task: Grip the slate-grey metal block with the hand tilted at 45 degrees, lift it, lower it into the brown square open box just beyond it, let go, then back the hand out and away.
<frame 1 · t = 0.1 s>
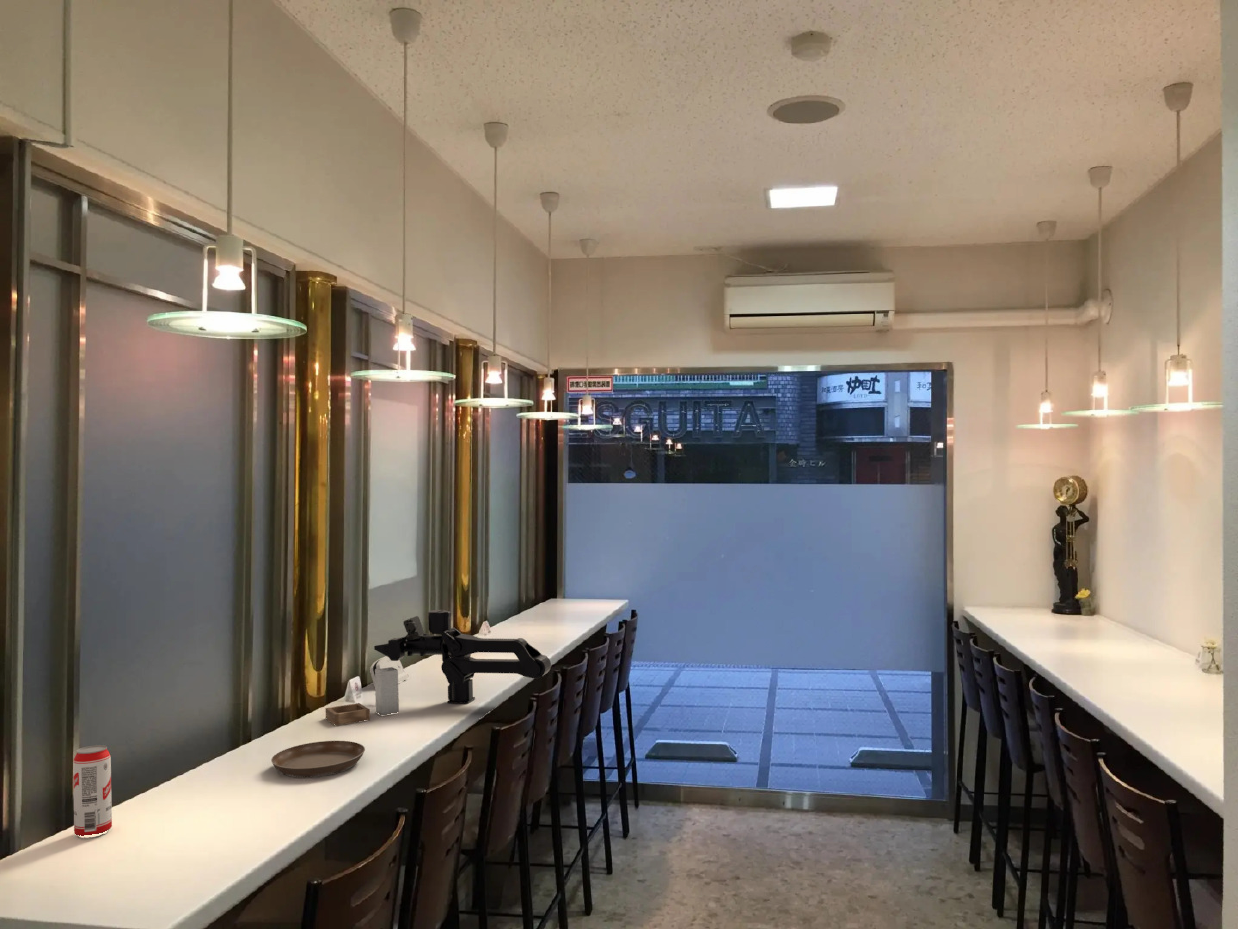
hand: (381, 644, 283), 17 cm above the table, tool horizontal, fingers open, 9 cm apart
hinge: (389, 684, 306), on the table
plant saucer: (319, 768, 216), on the table
beer can: (93, 835, 176), on the table
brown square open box: (347, 719, 259), on the table
grey block: (387, 713, 265), on the table
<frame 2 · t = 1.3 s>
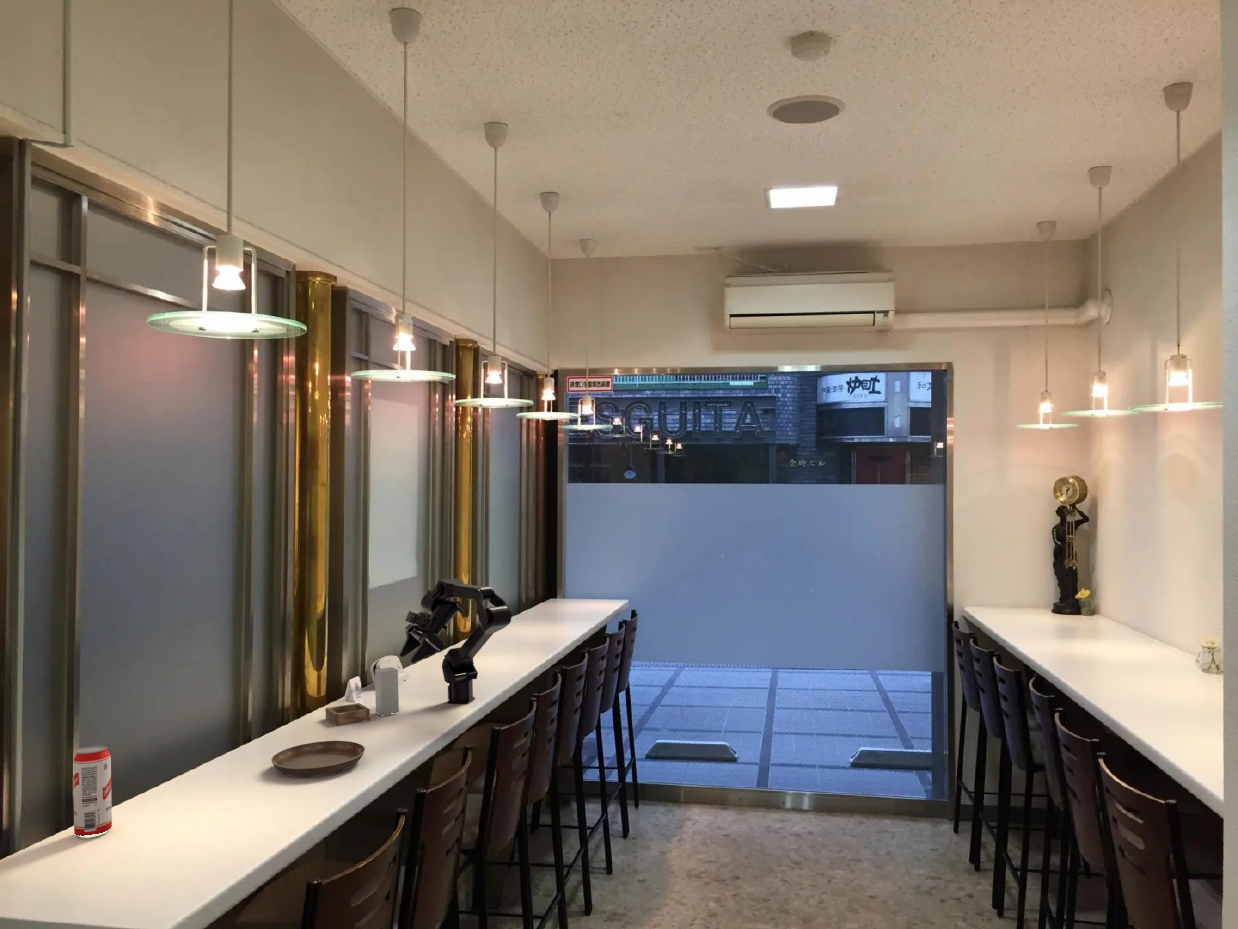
hand: (406, 659, 276), 13 cm above the table, tool tilted 45°, fingers open, 9 cm apart
nothing on the table moved.
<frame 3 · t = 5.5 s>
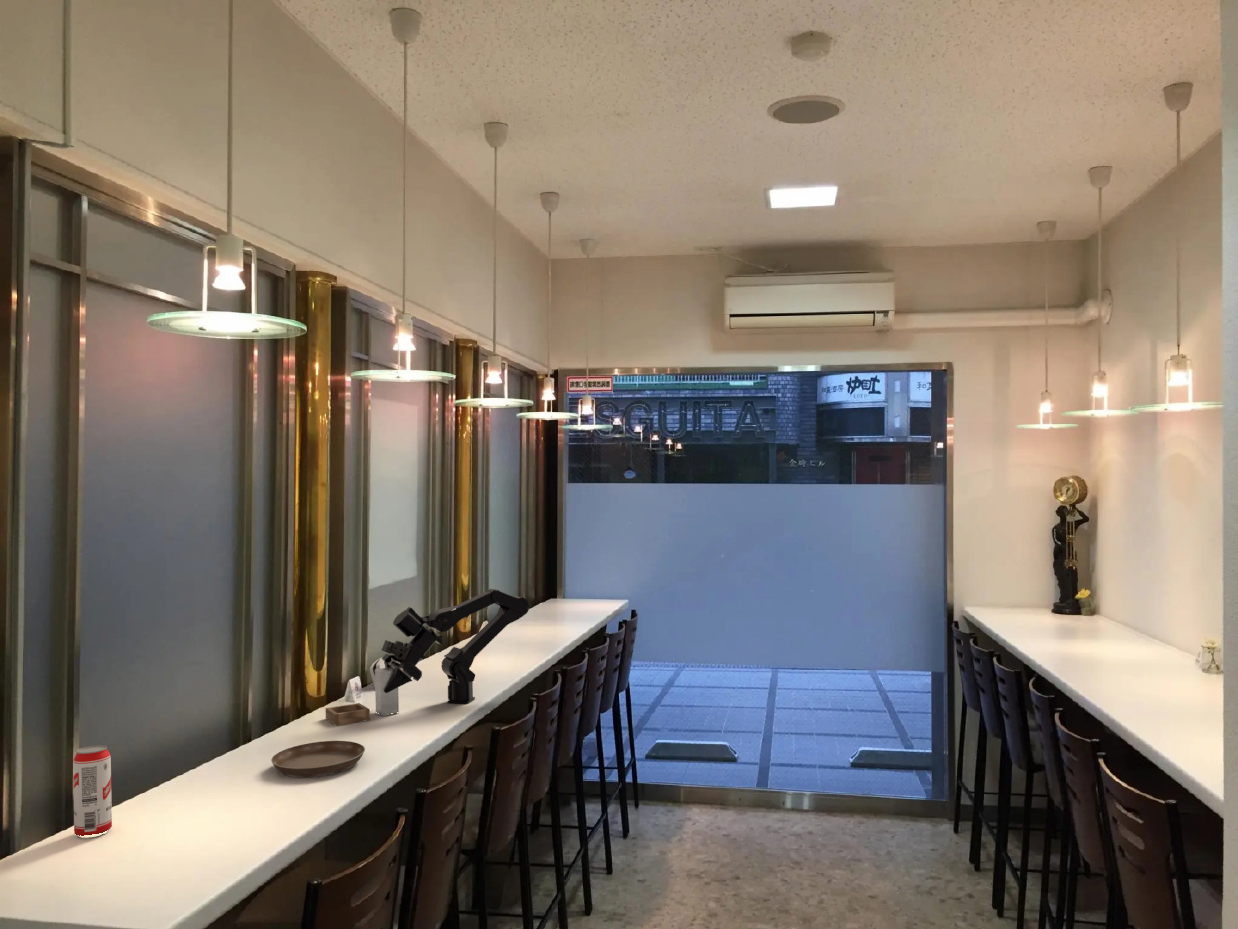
hand: (381, 690, 265), 7 cm above the table, tool tilted 45°, fingers closed on grey block, 5 cm apart
grey block: (387, 713, 265), on the table, touching gripper
everything else where it was.
when the fingers open (8 cm above the table, at t = 10.8 s): grey block drops 1 cm, resting in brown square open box.
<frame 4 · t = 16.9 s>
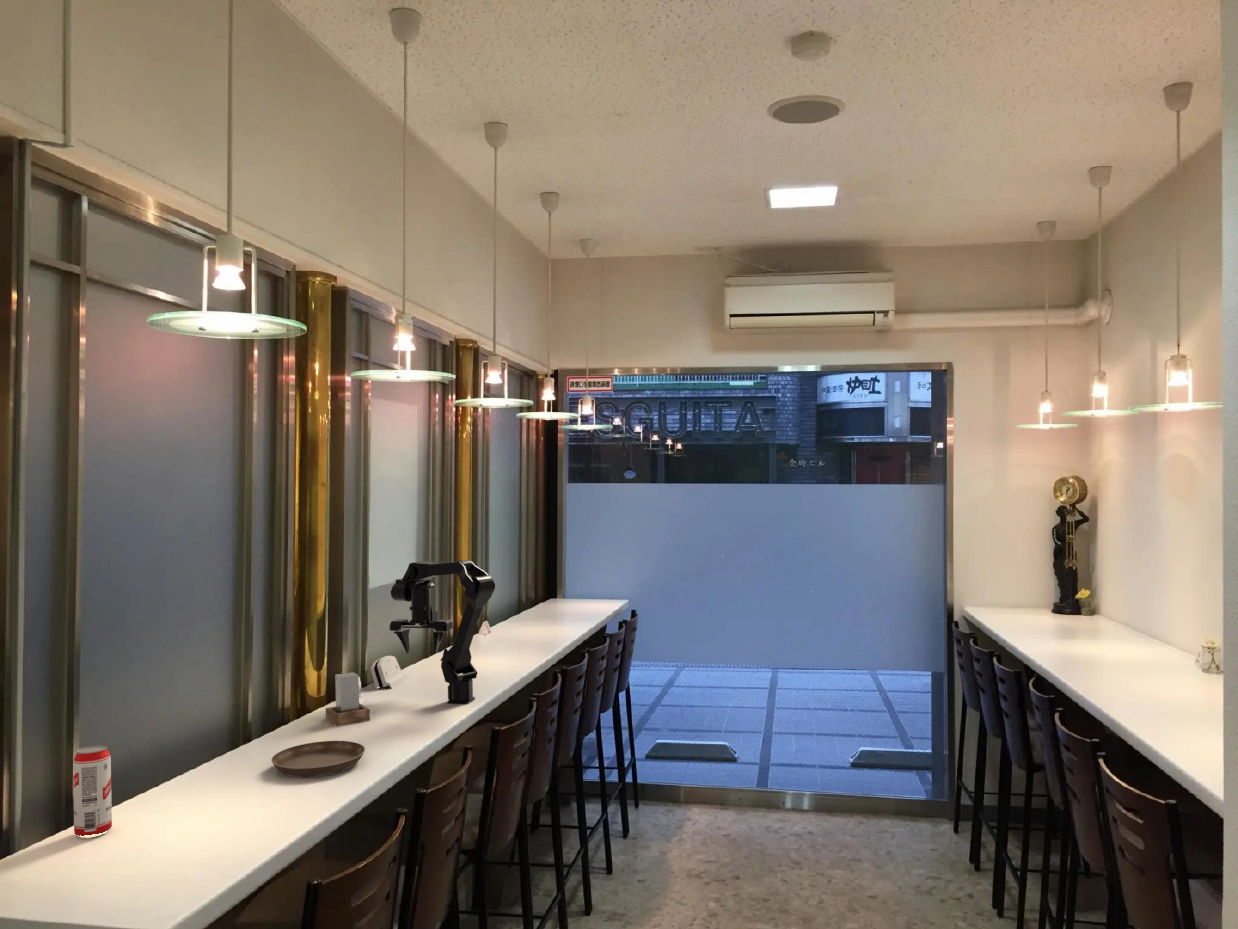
hand: (421, 653, 287), 13 cm above the table, tool pointing down, fingers open, 9 cm apart
grey block: (347, 719, 259), resting in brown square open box
everything else where it was.
at the end: grey block 0.0 cm off-centre on the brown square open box, point 0.0 cm above the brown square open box's base; grey block tilted 0°; the gripper is holding nothing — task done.
